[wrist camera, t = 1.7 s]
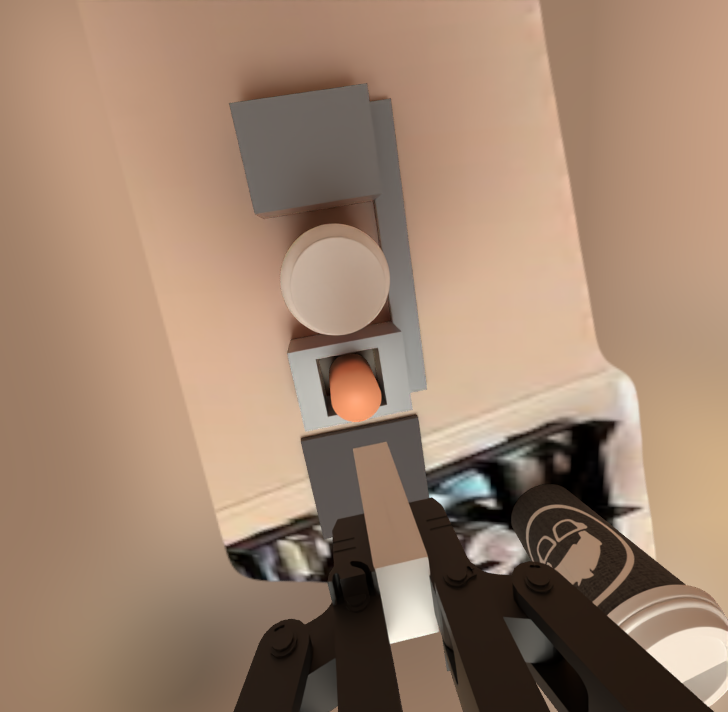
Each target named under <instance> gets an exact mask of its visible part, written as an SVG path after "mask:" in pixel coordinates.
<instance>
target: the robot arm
mask: <svg viewBox="0 0 728 712" xmlns="http://www.w3.org/2000/svg"><path fill="white" fill-rule="evenodd" d="M353 453H354V459H355V464H356V470H357V476H358V481H359V487H360V493H361V498H362V504H363V510H364V514H359V515H355V516H350V517H345V518H341V519H337V521H336V524H335V526H334V528H333V530H332V535H333V552H334V568H333V569H332V571H331V572H330V574H329V577H328V587H329V591H330V595H331V599H332V603H331V605H330V606H329V608H328V609H327V610H326V611H325V612H324V613H323V614H322V615H320V616H319V617H317V618H316V619H314V620H312V621H311V622H309V623H307V624H303V623H302V622H301V621H300V620H295V619H288V620H283V621H280V622H279V623H277V624H275V625H273V626H272V627H271V628H270V629H269V630H268V631H267V632H266V633H265V634H264V636H263V637H262V639H261V641H260V643H259V645H258V648H257V650H256V653H255V656H254V658H253V661H252V664H251V666H250V669H249V672H248V675H247V677H246V680H245V683H244V685H243V688H242V691H241V693H240V696H239V699H238V701H237V704H236V707H235V709H234V712H330V711H331V710H333V709H334V708H336V707H337V706H338V712H403V710H402V705H401V699H400V694H399V689H398V683H397V678H396V673H395V667H394V663H393V657H392V652H391V646H390V644H391V643H395V642H399V641H403V640H407V639H411V638H416V637H419V636H424V635H428V634H432V633H436V632H439V629H438V626H439V628H440V632H441V635H442V639H443V646H444V653H445V659H446V667H447V671H451V675H452V678H453V681H454V684H455V687H456V691H457V694H458V697H459V700H460V703H461V707H462V710H463V712H550V710H549V708H548V706H547V704H546V702H545V700H544V698H543V696H542V694H541V692H540V690H539V688H538V686H539V687H540V688H541V690H542V691H543V692H544V694H545V695H546V696H547V698H548V699H549V700H550V701H551V703H552V704H553V705H554V707H555V708H556V709H557V711H558V712H714V711H713V710H711V709H710V708H709V707H708V706H707V705H706V704H705V703H704V702H703V701H702V700H700V699H699V698H698V697H697V696H696V695H695V694H694V693H693V692H692V691H690V690H689V689H688V688H687V687H686V686H685V685H684V684H683V683H682V682H680V681H679V680H678V679H677V678H676V677H675V676H674V675H673V674H672V673H670V672H669V671H668V670H667V669H666V668H665V667H664V666H663V665H661V664H660V663H659V662H658V661H657V660H656V659H655V658H654V657H653V656H651V655H650V654H649V653H648V652H647V651H646V650H645V649H644V648H643V647H641V646H640V645H639V644H638V643H637V642H636V641H635V640H634V639H633V638H631V637H630V636H629V635H628V634H627V633H626V632H625V631H624V630H623V629H621V628H620V627H619V626H618V625H617V624H616V623H615V622H614V621H613V620H611V619H610V618H609V617H608V616H607V615H606V614H605V613H604V612H603V611H601V610H600V609H599V608H598V607H597V606H596V605H595V604H594V603H593V602H591V601H590V600H589V599H588V598H587V597H586V596H585V595H584V594H583V593H581V592H580V591H579V590H578V589H577V588H576V587H575V586H574V585H573V584H571V583H570V582H569V581H568V580H567V579H566V578H565V577H564V576H563V575H561V574H560V573H559V572H558V571H557V570H555V569H554V568H552V567H551V566H549V565H547V564H544V563H541V562H532V561H528V562H525V563H521V564H519V565H518V566H517V567H516V568H514V571H513V573H512V575H499V574H491V573H487V572H484V571H482V570H480V569H478V568H477V567H476V566H475V565H474V564H473V563H471V562H470V561H469V559H468V558H467V556H466V554H465V552H464V549H463V547H462V545H461V543H460V541H459V539H458V537H457V535H456V533H455V531H454V529H453V527H452V526H451V523H450V521H449V519H448V518H447V515H446V513H445V511H444V508H443V506H442V505H441V504H440V503H438V502H437V501H436V500H435V499H433V498H428V499H423V500H418V501H414V502H409V503H408V500H407V497H406V494H405V491H404V489H403V486H402V483H401V480H400V478H399V475H398V472H397V469H396V466H395V464H394V461H393V458H392V455H391V453H390V450H389V447H388V444H387V442H383V443H378V444H373V445H369V446H364V447H359V448H354V449H353ZM536 683H537V684H538V686H537V684H536Z"/></svg>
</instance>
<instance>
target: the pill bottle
mask: <svg viewBox="0 0 728 712" xmlns="http://www.w3.org/2000/svg"><path fill="white" fill-rule="evenodd" d="M280 286H281V292H282V295H283V298H284V301H285V303H286V305H287V307H288V309H289V310H290V312H291V313H292V314H293V316H294V317H295V318H296V319H297V320H298V321H299V322H300V323H302V324H303V325H304V326H306V327H307V328H309V329H311V330H313V331H315V332H318V333H321V334H326V335H345V334H350V333H353V332H356V331H358V330H360V329H362V328H363V327H365V326H366V325H368V324H369V323H370V322H371V321H372V320H374V319H375V317H376V316H377V315H378V314H379V312H380V311H381V309H382V308H383V306H384V304H385V302H386V299H387V296H388V292H389V287H390V273H389V267H388V263H387V261H386V258H385V256H384V254H383V252H382V250H381V249H380V247H379V246H378V244H377V243H376V242H375V241H374V240H373V239H372V238H371V237H370V236H369V235H367V234H366V233H365V232H363V231H361V230H359V229H357V228H355V227H352V226H349V225H345V224H324V225H320V226H317V227H314V228H312V229H310V230H308V231H306V232H305V233H303V234H302V235H301V236H300V237H298V238H297V239H296V240H295V241H294V243H293V244H292V245H291V246H290V248H289V249H288V251H287V253H286V255H285V257H284V260H283V263H282V266H281V272H280Z"/></svg>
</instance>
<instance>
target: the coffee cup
mask: <svg viewBox="0 0 728 712" xmlns="http://www.w3.org/2000/svg"><path fill="white" fill-rule="evenodd" d="M511 523H512V527H513V529H514V531H515V533H516V534H517V536H518V538H519V540H520V542H521V543H522V545H523V547H524V549H525V550H526V552H527V554H528V556H529V558H530V559H531V561H532V562H541V563H544V564H547V565H549V566H551V567H552V568H554V569H555V570H557V571H558V572H559V573H560V574H561V575H563V576H564V577H565V578H566V579H567V580H568V581H569V582H570V583H571V584H573V585H574V586H575V587H576V588H577V589H578V590H579V591H580V592H581V593H583V594H584V595H585V596H586V597H587V598H588V599H589V600H590V601H591V602H593V603H594V604H595V605H596V606H597V607H598V608H599V609H600V610H601V611H603V612H604V613H605V614H606V615H607V616H608V617H609V618H610V619H611V620H613V621H614V622H615V623H616V624H617V625H618V626H619V627H620V628H621V629H623V630H624V631H625V632H626V633H627V634H628V635H629V636H630V637H631V638H633V639H634V640H635V641H636V642H637V643H638V644H639V645H640V646H641V647H643V648H644V649H645V650H646V651H647V652H648V653H649V654H650V655H651V656H653V657H654V658H655V659H656V660H657V661H658V662H659V663H660V664H661V665H663V666H664V667H665V668H666V669H667V670H668V671H669V672H670V673H672V674H673V675H674V676H675V677H676V678H677V679H678V680H679V681H680V682H682V683H683V684H684V685H685V686H686V687H687V688H688V689H689V690H690V691H692V692H693V693H694V694H695V695H696V696H697V697H698V698H699V699H700V700H702V701H703V702H704V703H705V704H706V705H707V706H708V707H709V706H710V705H712V704H713V703H715V702H716V701H717V700H718V699H719V698H720V697H721V696H723V694H725V692H726V691H727V690H728V619H727V618H726V616H725V614H724V612H723V611H722V609H721V608H720V607H719V605H718V604H717V603H716V601H715V600H714V599H713V598H712V597H711V596H710V595H709V594H708V593H706V592H705V591H703V590H701V589H699V588H696V587H692V586H688V585H685V584H684V583H683V582H682V581H680V580H679V579H678V578H676V577H675V576H674V575H672V574H671V573H670V572H669V571H668V570H666V569H665V568H664V567H663V566H661V565H660V564H659V563H658V562H656V561H655V560H654V559H653V558H651V557H650V556H649V555H648V554H646V553H645V552H644V551H643V550H641V549H640V548H639V547H638V546H636V545H635V544H634V543H633V542H631V541H630V540H629V539H628V538H626V537H625V536H624V535H623V534H621V533H620V532H619V531H618V530H616V529H615V528H614V527H613V526H611V525H610V524H609V523H608V522H606V521H605V520H604V519H603V518H601V517H600V516H599V515H598V514H596V513H595V512H594V511H593V510H591V509H590V508H589V507H588V506H587V505H585V504H584V503H583V502H582V501H580V500H579V499H578V498H577V497H575V496H574V495H573V494H572V493H570V492H569V491H568V490H567V489H565V488H564V487H562V486H559V485H555V484H545V485H540V486H537V487H534V488H532V489H530V490H529V491H527V492H526V493H525V494H523V495H522V496H521V497H520V498H519V500H518V501H517V502H516V504H515V506H514V508H513V511H512V515H511Z"/></svg>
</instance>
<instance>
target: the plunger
mask: <svg viewBox="0 0 728 712" xmlns="http://www.w3.org/2000/svg"><path fill="white" fill-rule="evenodd" d="M329 381H330V392H331V402H332V407H333V409H334V411H335V412H336V413H337V415H338V416H340V417H341V418H343V419H344V420H347V421H351V422H360V421H364V420H366V419H368V418H370V417H371V416H373V415H374V414H375V413H376V412H377V410H378V409H379V407H380V404H381V391H380V388H379V386H378V384H377V381H376V379H375V377H374V375H373V372H372V370H371V368H370V365H369V364H368V362H367V361H366V360H365V359H364V358H363V357H361V356H360V355H357V354H344V355H342V356H340V357H338V358H337V359H336V360H335V361H334V362H333V363H332V365H331V367H330V370H329Z"/></svg>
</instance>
